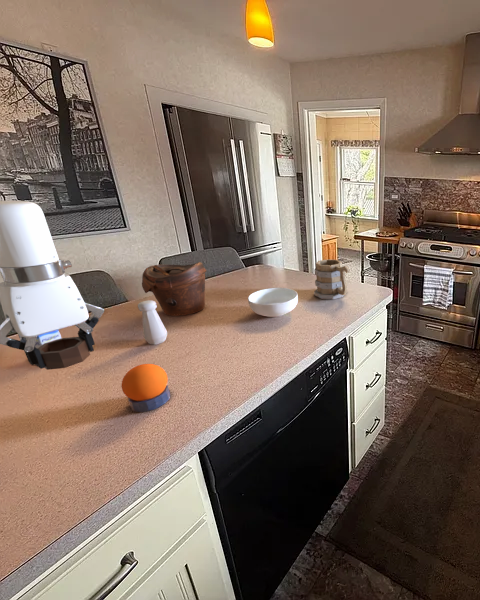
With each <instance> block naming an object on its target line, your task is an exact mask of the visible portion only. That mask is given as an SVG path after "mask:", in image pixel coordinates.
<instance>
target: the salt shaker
mask: <svg viewBox="0 0 480 600" xmlns="http://www.w3.org/2000/svg"><path fill="white" fill-rule="evenodd" d="M157 307H158V305H157V303H156V301H155V300H152V299H150V300H149V299H147V300H143V301H140V302H139V303H138V304H137V308H138V311H139V312H141V313H142V315H141V316H142V334H143V335H142V336H143V339H144V340H145V342H147V343H148V344H149V345H154V346H155V345H160V344H163V343H164V342H165V341H166V340H167V338H168V337H167V336H168V331H167V329H166V327H165V325H164V323H163V321H162V319H161V317H160V316H159V314H158V312H157V310H156V309H157Z"/></svg>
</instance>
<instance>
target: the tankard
mask: <svg viewBox="0 0 480 600" xmlns="http://www.w3.org/2000/svg"><path fill="white" fill-rule="evenodd" d="M313 272H314V276H316V279H315V280H314V285H315V287H316V289H315V290H314V291H313V294H314V296H315V297H317V298H319V299H320V300H336V299H340V298H344V297H345V296H346V295H347V293H348V283H347V282H348V281H347V278H346V274H350V272H351V271H350V268H349V267H348V265H343V262H342V261H341V260H338V259H321V260H317V261H316V263H315V268H314V270H313Z"/></svg>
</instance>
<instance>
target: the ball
mask: <svg viewBox="0 0 480 600" xmlns="http://www.w3.org/2000/svg"><path fill="white" fill-rule="evenodd" d="M168 378H169V377H168V374H167V372H166V371H165V369H164V368H163V367H161V366H160V365H157V364H153V363H141V364H139V365H136V366H133V367H132V368H130V369H129V370H128V371H127V372H126V373H125V375H124V376H123V378H122V379H121V390H122V393H123V394H124V395H125V396H126V397H127V399H128V398H130V399H132V400H135V401H144V400H148V399H152V398H154V397H156V396H158V395H160V394H161V393H162V392H163V391H164V389H165V388H166V385H168V380H169V379H168Z"/></svg>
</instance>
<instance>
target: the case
mask: <svg viewBox="0 0 480 600" xmlns="http://www.w3.org/2000/svg"><path fill="white" fill-rule="evenodd" d="M206 272H207V269H206V268H205V265H204V264H203V262H202V261H198V262H196V263H191V264H186V265H184V264H154V265H150V266H148V267H146V268H145V269H144V271H143V272H142V279H141V288H142V290H143V292H144V293H145V294H148V293H149V292H151V293H152V294H153V296H154V297H155V299H156V301H157V303H158V304H159V306H160V308H161V309H162V311H163V313H164V314H165V315H167V316H174V317H178V316H187V315H192V314H195V313H198V312H200V311H202V310H203V309H204V308H205V306H206Z"/></svg>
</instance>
